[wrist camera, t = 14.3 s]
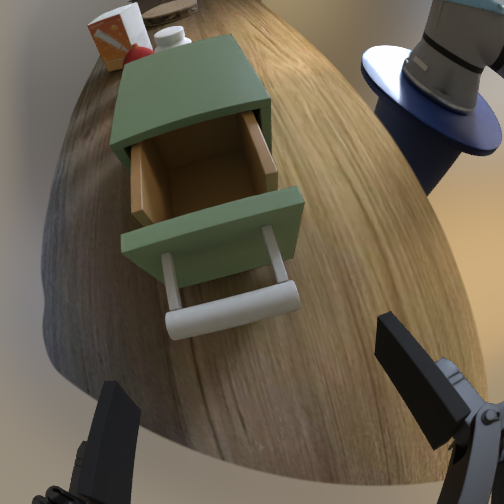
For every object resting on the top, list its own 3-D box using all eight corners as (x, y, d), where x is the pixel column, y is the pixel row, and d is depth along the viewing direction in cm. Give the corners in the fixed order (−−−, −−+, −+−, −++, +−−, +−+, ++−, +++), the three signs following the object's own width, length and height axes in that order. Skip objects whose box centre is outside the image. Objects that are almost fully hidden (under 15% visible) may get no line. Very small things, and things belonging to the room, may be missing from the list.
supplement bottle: (191, 93, 33) (175, 37, 24) (160, 93, 34) (141, 42, 25) (206, 74, 35) (195, 22, 25) (176, 74, 35) (162, 26, 26)
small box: (108, 73, 39) (85, 25, 27) (123, 57, 42) (104, 12, 29) (139, 66, 38) (119, 13, 26) (154, 51, 40) (137, 1, 28)
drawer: (311, 316, 21) (338, 292, 12) (184, 349, 20) (131, 344, 12) (254, 148, 27) (247, 79, 19) (158, 175, 27) (124, 115, 18)
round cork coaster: (153, 29, 47) (150, 20, 44) (137, 22, 52) (135, 15, 49) (208, 9, 49) (206, 1, 46) (184, 4, 54) (183, -3, 52)
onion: (130, 95, 35) (113, 57, 27) (131, 80, 37) (116, 45, 29) (164, 81, 35) (151, 42, 27) (162, 68, 37) (150, 32, 29)
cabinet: (272, 184, 26) (271, 98, 16) (158, 215, 26) (108, 145, 16) (240, 103, 31) (231, 33, 21) (153, 128, 31) (124, 64, 21)
